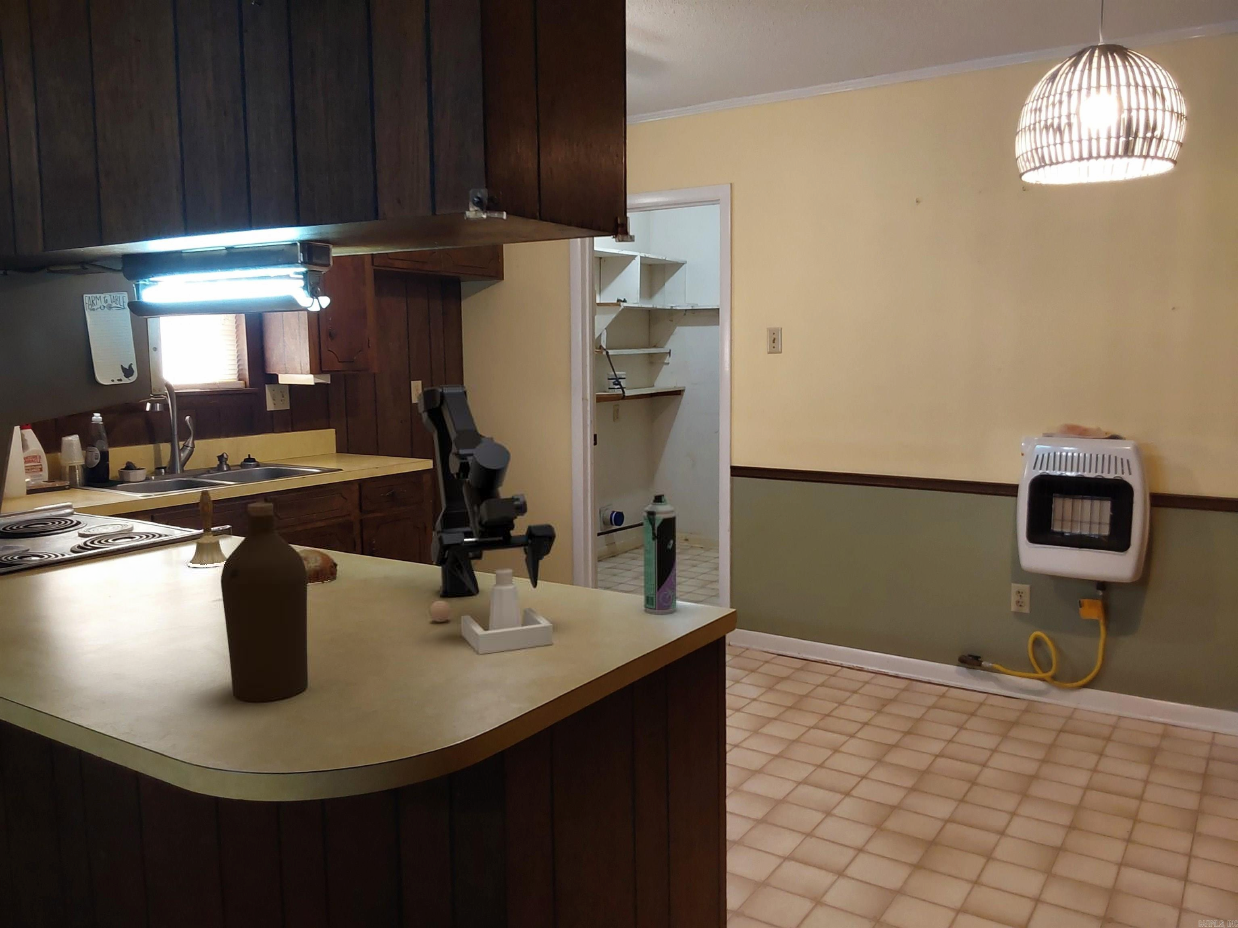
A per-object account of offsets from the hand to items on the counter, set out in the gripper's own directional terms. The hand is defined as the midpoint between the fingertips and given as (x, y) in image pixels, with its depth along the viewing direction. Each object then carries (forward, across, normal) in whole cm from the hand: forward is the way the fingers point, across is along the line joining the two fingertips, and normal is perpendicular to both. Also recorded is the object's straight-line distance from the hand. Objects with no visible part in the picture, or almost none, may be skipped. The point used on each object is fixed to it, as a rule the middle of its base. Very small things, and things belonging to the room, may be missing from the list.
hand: (506, 589), depth 147 cm
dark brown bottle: (+11, -35, +1) cm, 36 cm away
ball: (-5, -7, +16) cm, 19 cm away
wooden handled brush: (-51, -42, +63) cm, 92 cm away
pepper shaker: (+5, 0, +7) cm, 8 cm away
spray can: (+2, +29, +10) cm, 31 cm away
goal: (+5, 0, +7) cm, 8 cm away
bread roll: (-34, -24, +46) cm, 62 cm away
